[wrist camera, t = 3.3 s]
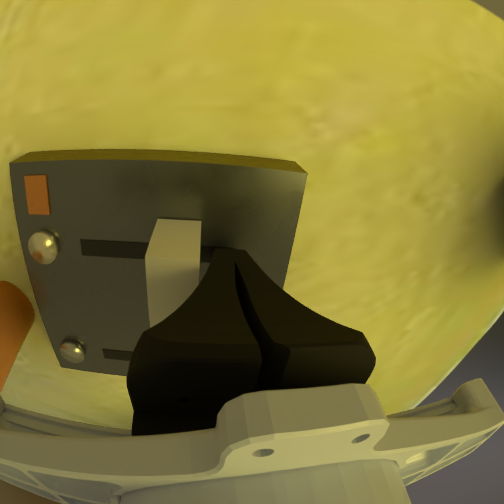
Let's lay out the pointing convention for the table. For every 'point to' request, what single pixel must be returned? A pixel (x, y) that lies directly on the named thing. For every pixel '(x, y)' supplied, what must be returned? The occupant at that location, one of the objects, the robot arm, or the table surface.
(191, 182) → the breaker panel
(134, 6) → the table surface
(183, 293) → the block
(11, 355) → the cap
